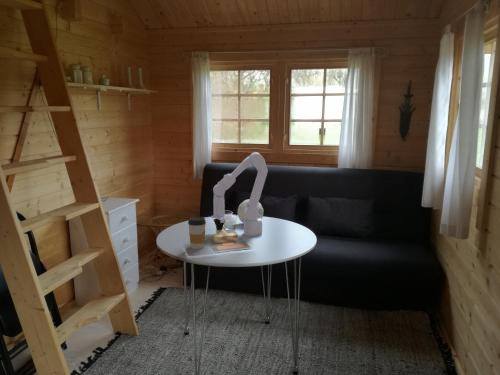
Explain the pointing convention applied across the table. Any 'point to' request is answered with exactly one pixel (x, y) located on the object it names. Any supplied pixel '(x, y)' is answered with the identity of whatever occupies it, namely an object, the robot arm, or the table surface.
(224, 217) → the robot arm
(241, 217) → the puzzle ball
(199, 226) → the coffee cup
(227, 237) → the t block
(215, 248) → the slate board
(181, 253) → the table surface
